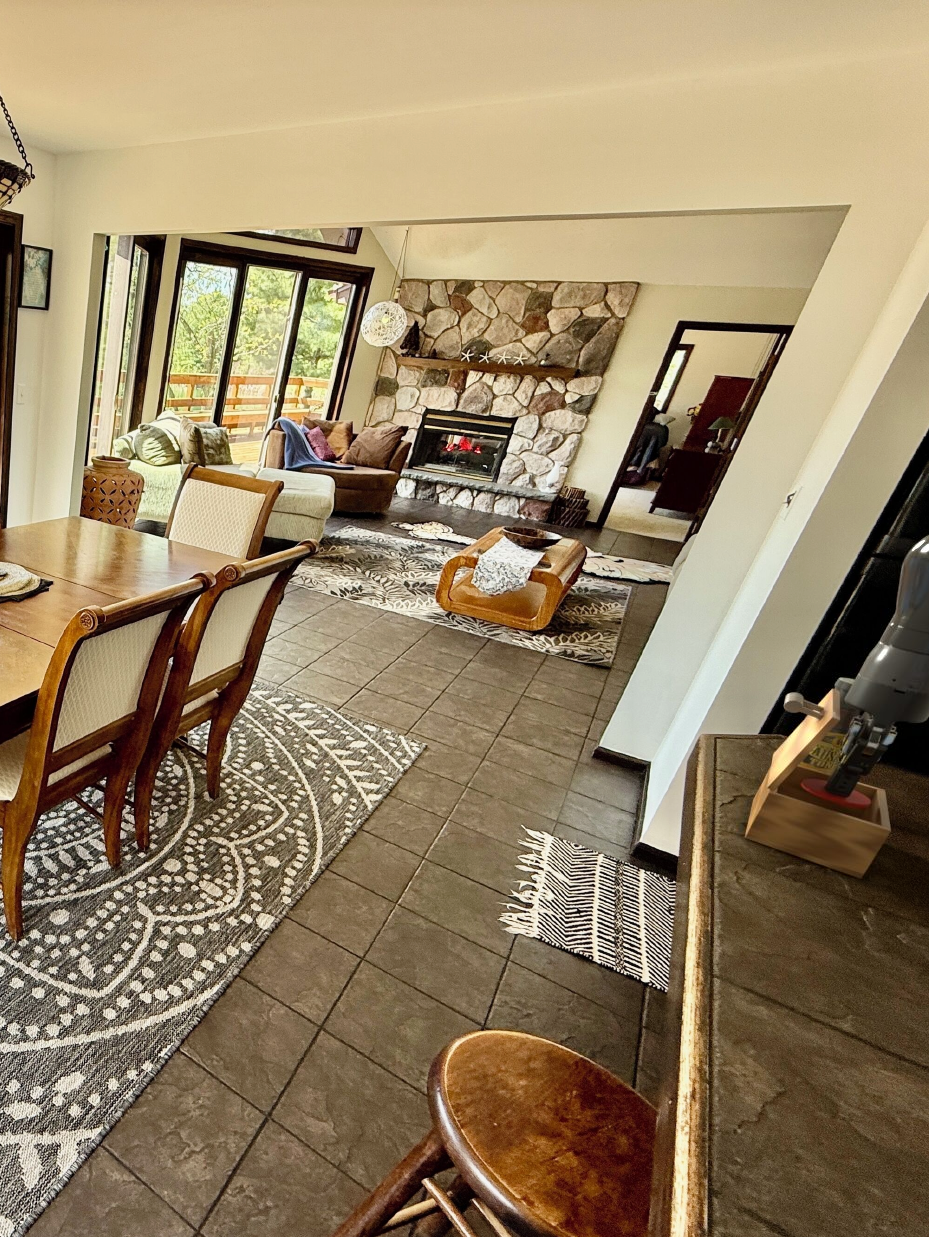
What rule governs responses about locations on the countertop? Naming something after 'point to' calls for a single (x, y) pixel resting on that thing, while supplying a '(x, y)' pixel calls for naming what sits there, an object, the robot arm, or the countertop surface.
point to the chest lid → (803, 733)
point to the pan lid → (821, 791)
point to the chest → (819, 823)
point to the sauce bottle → (833, 734)
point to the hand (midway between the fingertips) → (837, 790)
